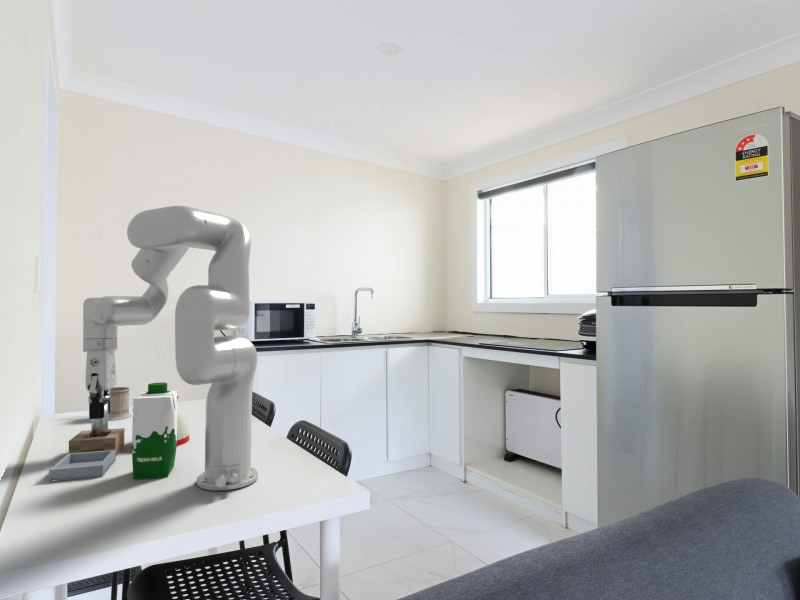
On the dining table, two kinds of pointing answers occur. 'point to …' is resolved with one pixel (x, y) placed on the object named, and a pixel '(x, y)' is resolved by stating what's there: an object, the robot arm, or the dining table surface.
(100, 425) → the pin
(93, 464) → the tray
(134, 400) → the milk carton
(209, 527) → the dining table surface
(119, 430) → the socket block
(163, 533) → the dining table surface
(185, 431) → the kitchen timer
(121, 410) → the mug
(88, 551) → the dining table surface
